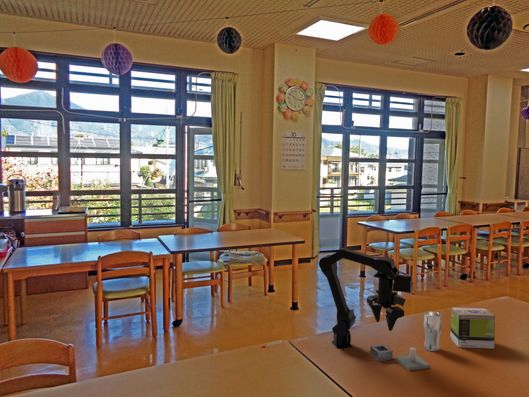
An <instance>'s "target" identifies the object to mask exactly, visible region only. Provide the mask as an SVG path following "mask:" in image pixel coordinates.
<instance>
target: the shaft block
mask: <svg viewBox="0 0 529 397" xmlns="http://www.w3.org/2000/svg"><path fill="white" fill-rule="evenodd" d="M408 352H409V353H408V354H407V355H398V356H395V360H396V362H398V363H399V364H400V365H402V367H404V368H405V369H406V370H407V371H416V370H422V369H430V363H427V361H426V360H424V359H423V358H422V357H420V356H418V355H417V349H416V347H410V348H409V351H408Z"/></svg>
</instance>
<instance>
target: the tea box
mask: <svg viewBox="0 0 529 397" xmlns="http://www.w3.org/2000/svg"><path fill="white" fill-rule="evenodd" d="M495 330H496V315H495V314H493V312H490V311H489V310H488V309H487V308H485V307H456V306H455V307H454V306H453V307H451V308H450V340H452V342H453V343H454V345H456V347H458V348H468V349H470V348H471V349H473V348H474V349H490V350H491V349H493V350H494V349H495V338H496V337H495V335H496V334H495V333H496V331H495Z"/></svg>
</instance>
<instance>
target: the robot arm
mask: <svg viewBox="0 0 529 397" xmlns="http://www.w3.org/2000/svg"><path fill="white" fill-rule="evenodd" d="M342 259H343V260H347V261H350V262H354V263H358V264H361V265H365V266H368V267H370V268H372V269H373V270H375V271H377V272H376V273H375V274H373V278H378V281H377V282H378V283H377V284H378V285H377V286H378V287H377V289H376V290H375V293H376V294H374V295H373V294H372V295H368V296H367V297H366V303H367V304H368V306H369V308H370V310H371V311H372V312H371V313H372V315H373V317H374V319H375V321H376V323H379V322H380V319H381V312H382V309H384V310H385V316H384V317H385V320H386V325H387V328H388V331H390V332H391V331H393V329H394V327H395V325H396V322H397V321H398V319H400V318H403V317H405V310H404V309H403V308H401V307H405V306H404V305H405V303H406V298H404V297H402V296H400V295H398V292H400V293H408V294H412V293H413V290H414V279H413V275H410V274H407V275H405V274H401V272H400V271H399V268H397V266H396V263H395V261H394V259H393V258H392V257H389V256H381V255H380V256H376V255H370V254H367V253H364V252H360V251H356V250H352V249H349V248H347V247H342V248H340V249H338V250H337V251H336V252H334V253H333V254H327V255H325V256H323V257H321V258H319V261H318V266H319V268H320V270H321V273H323V275H324V276H325V277H326V280H327V282H328V285H329V286H328V287H329V288H330V293H331V295H332V298H333V302H334V305H335V307H336V324H335V325H334V326H333V327H332V328H331V330H332V333H333V340H332V341H331V343H332V344H333V345H334V347H336V348H337V349H342V348H343V349H344V348H351V347H352V344H351V342H352V334H351V331H350V329H351V328H352V327H353V326H354V325H355V324H356V318H357V316H356V315H355V311H354V309H353V308H352V309H350V308H349V307H348V304H347V301H346V298H345V296H344V295H345V294H344V292H343V289H342V285H341V282H340V280H339V277H338V262H339V261H341V260H342ZM394 290H395V291H394ZM397 305H399V306H401V307H399V306H397Z"/></svg>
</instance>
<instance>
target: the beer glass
mask: <svg viewBox="0 0 529 397" xmlns="http://www.w3.org/2000/svg"><path fill="white" fill-rule="evenodd" d="M442 322H443V321H442V314H441V313H439V312H437V311H430V310H429V311H425V312H424V317H423V331H424V337H425V338H424V339H425V340H424V343H423V348H424V349H425V351H430V352H438V351H440V344H439V340H440V336H441V332H442V324H443V323H442Z"/></svg>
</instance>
